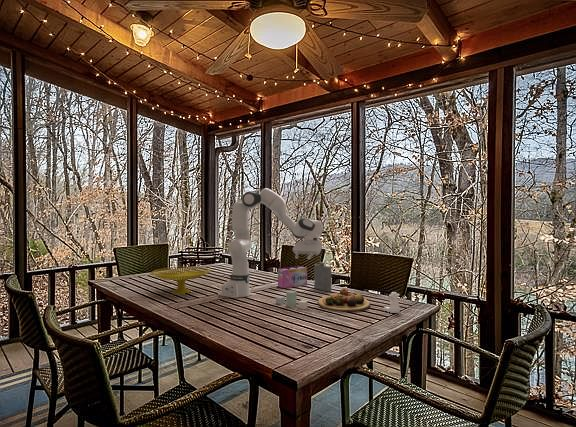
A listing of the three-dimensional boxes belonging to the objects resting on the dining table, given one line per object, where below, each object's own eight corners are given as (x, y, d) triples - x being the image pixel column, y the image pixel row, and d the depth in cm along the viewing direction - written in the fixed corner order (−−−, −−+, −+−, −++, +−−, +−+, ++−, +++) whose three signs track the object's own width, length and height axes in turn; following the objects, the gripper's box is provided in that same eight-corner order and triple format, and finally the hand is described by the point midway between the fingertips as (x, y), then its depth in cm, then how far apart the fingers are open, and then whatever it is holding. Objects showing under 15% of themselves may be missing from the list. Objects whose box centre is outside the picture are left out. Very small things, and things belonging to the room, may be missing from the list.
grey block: (275, 303, 221) (275, 297, 221) (279, 302, 224) (279, 295, 224) (280, 304, 218) (281, 298, 218) (284, 303, 222) (284, 296, 221)
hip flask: (332, 291, 254) (332, 263, 254) (328, 291, 252) (328, 263, 251) (316, 287, 266) (316, 260, 266) (312, 287, 264) (312, 261, 263)
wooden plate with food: (328, 296, 240) (327, 284, 240) (375, 301, 226) (375, 288, 226) (310, 309, 212) (309, 295, 211) (362, 316, 198) (362, 301, 197)
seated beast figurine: (398, 309, 208) (398, 289, 208) (405, 314, 200) (405, 293, 200) (382, 310, 207) (383, 290, 207) (389, 314, 198) (389, 293, 198)
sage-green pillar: (286, 305, 216) (286, 291, 215) (290, 304, 219) (290, 290, 219) (292, 306, 213) (292, 292, 213) (296, 305, 216) (296, 291, 216)
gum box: (302, 282, 282) (302, 265, 282) (308, 284, 275) (308, 267, 275) (277, 286, 269) (277, 268, 268) (283, 288, 262) (283, 270, 262)
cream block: (298, 308, 211) (298, 301, 210) (301, 306, 214) (302, 300, 214) (303, 309, 208) (303, 302, 208) (307, 307, 211) (307, 301, 211)
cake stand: (189, 302, 222) (189, 278, 222) (137, 296, 235) (137, 274, 235) (221, 288, 260) (221, 268, 260) (174, 284, 273) (174, 264, 273)
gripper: (295, 238, 238) (287, 254, 230) (320, 238, 225) (312, 256, 217) (299, 244, 241) (291, 260, 234) (325, 244, 228) (317, 262, 221)
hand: (302, 258), depth 225 cm, fingers open, 8 cm apart
